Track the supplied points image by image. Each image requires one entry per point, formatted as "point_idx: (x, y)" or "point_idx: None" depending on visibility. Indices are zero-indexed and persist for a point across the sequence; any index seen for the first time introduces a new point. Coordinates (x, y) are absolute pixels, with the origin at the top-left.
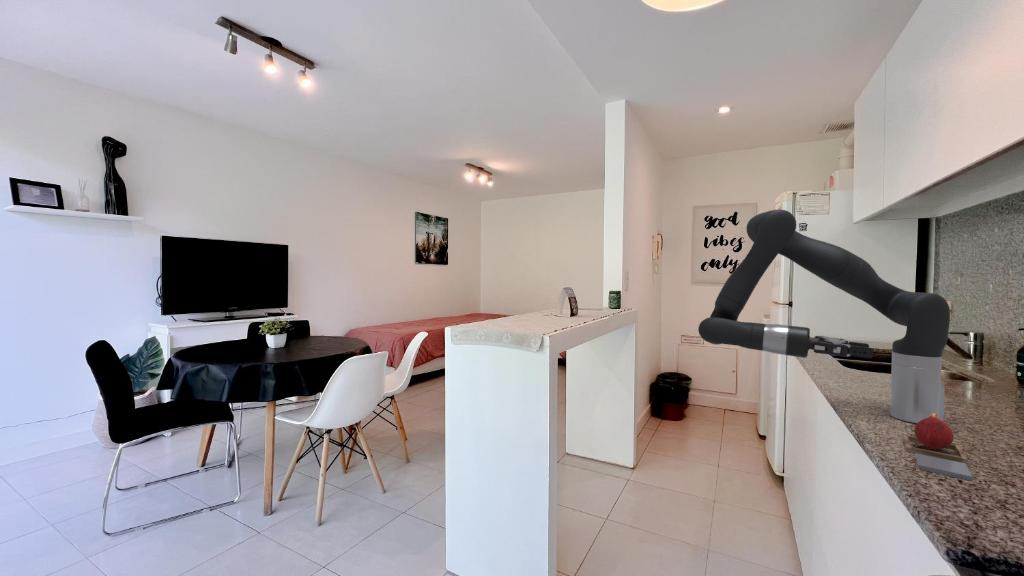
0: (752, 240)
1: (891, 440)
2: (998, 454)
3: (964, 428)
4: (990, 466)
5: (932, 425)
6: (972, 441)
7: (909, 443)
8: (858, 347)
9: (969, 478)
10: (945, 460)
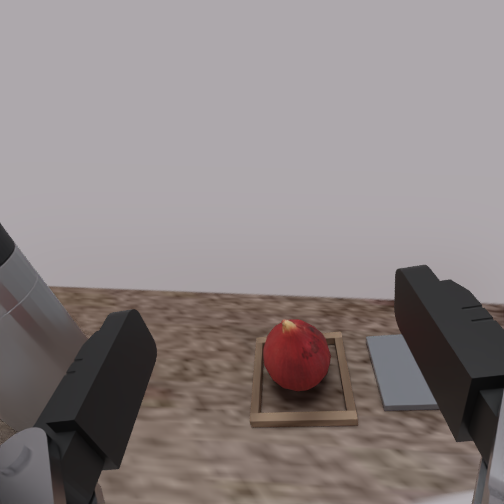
0: None
1: (283, 453)
2: (242, 306)
3: None
4: (321, 316)
5: (317, 340)
6: (188, 327)
7: (319, 411)
8: (475, 328)
9: None
10: (380, 360)
